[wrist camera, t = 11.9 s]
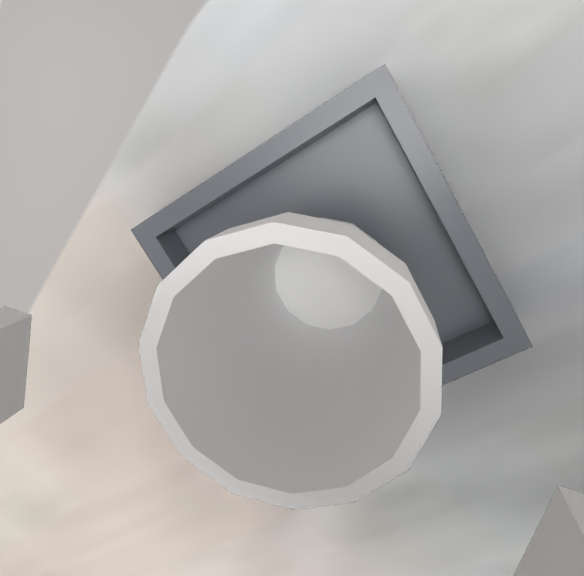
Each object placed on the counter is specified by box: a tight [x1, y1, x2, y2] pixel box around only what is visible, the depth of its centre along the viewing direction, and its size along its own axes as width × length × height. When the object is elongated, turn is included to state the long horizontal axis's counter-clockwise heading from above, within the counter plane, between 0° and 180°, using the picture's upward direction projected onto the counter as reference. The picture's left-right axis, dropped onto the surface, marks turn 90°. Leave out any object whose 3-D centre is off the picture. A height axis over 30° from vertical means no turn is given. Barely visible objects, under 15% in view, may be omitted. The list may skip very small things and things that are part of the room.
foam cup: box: [138, 212, 443, 510], centre depth 21 cm, size 10×9×13 cm
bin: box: [131, 64, 533, 385], centre depth 26 cm, size 15×15×4 cm
